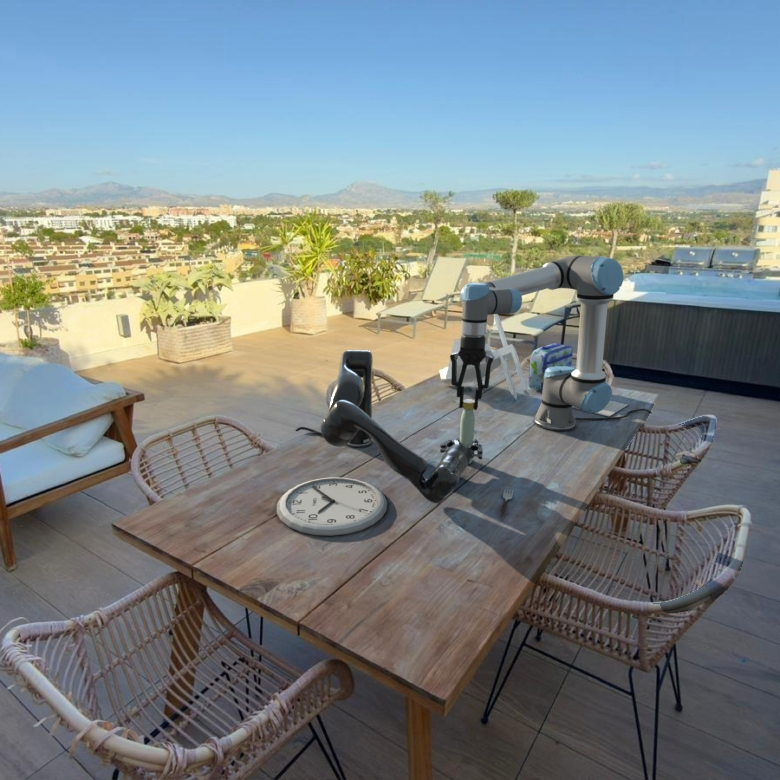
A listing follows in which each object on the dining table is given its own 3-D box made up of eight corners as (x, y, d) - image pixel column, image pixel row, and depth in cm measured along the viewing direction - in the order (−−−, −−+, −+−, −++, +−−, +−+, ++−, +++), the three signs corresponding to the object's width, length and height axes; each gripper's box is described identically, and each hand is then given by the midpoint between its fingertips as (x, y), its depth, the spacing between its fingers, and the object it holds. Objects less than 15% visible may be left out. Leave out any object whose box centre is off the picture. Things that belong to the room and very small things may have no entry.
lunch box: (544, 395, 239) (549, 351, 233) (524, 390, 247) (528, 347, 240) (571, 384, 257) (577, 343, 251) (552, 380, 264) (556, 339, 258)
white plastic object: (461, 429, 252) (437, 405, 227) (444, 352, 274) (420, 323, 250) (535, 404, 240) (518, 377, 215) (510, 326, 262) (492, 293, 237)
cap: (469, 404, 168) (469, 398, 168) (477, 408, 165) (478, 401, 164) (459, 406, 166) (459, 400, 166) (467, 410, 163) (467, 403, 162)
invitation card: (608, 416, 214) (573, 407, 224) (608, 416, 214) (573, 408, 224) (628, 404, 229) (594, 396, 238) (628, 405, 229) (594, 397, 238)
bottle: (460, 457, 174) (464, 400, 168) (473, 459, 172) (477, 402, 166) (456, 462, 170) (459, 404, 164) (469, 465, 169) (473, 406, 163)
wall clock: (392, 527, 129) (268, 531, 127) (391, 533, 130) (269, 537, 127) (383, 473, 158) (282, 475, 155) (383, 478, 158) (282, 480, 156)
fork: (495, 518, 138) (496, 511, 137) (504, 491, 152) (505, 484, 151) (505, 520, 137) (506, 513, 136) (513, 492, 151) (514, 486, 150)
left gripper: (431, 468, 160) (446, 447, 176) (477, 476, 155) (489, 454, 171) (432, 445, 158) (447, 426, 173) (479, 453, 153) (490, 433, 168)
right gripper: (502, 334, 160) (496, 406, 167) (447, 330, 165) (444, 401, 172) (500, 339, 153) (494, 414, 160) (443, 335, 158) (439, 408, 165)
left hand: (468, 440), depth 172 cm, fingers closed on bottle, 4 cm apart
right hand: (468, 407), depth 166 cm, fingers closed on cap, 4 cm apart
